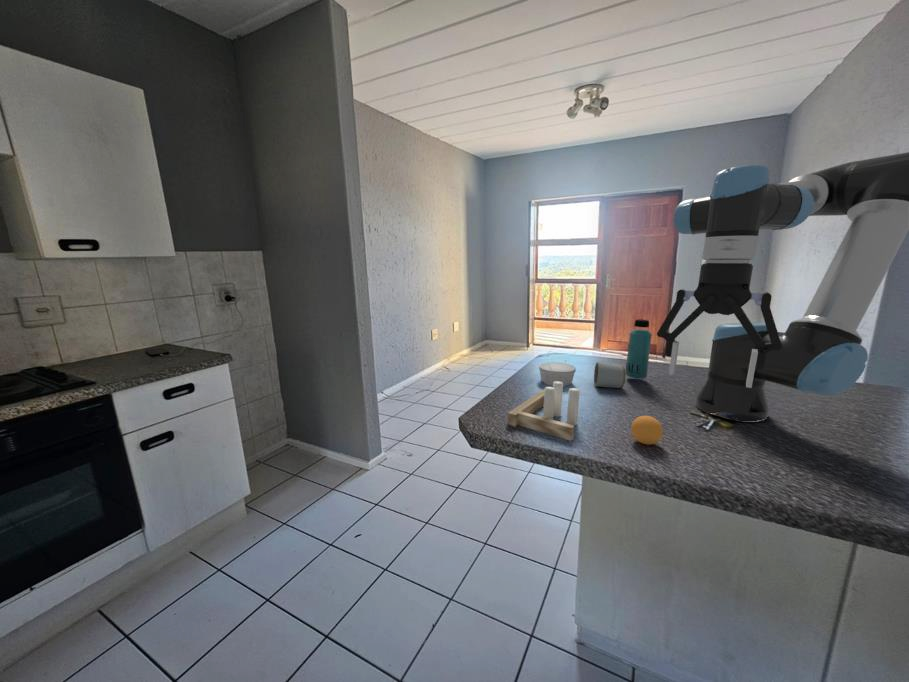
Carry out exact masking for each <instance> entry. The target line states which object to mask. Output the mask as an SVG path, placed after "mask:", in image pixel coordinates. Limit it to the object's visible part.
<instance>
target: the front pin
mask: <svg viewBox="0 0 909 682" xmlns="http://www.w3.org/2000/svg"><path fill="white" fill-rule="evenodd" d="M580 393H581V391H580V389H579V388H575V387H573V388H572V387H570V388H569V389H568V398H567V399H568V401H567V413H566V414H567V415H566V424H570V425H574V426H577V425H578V418H579V417H578V416H579V404H580Z"/></svg>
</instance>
